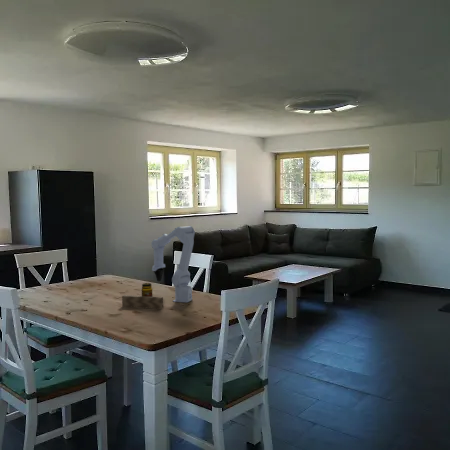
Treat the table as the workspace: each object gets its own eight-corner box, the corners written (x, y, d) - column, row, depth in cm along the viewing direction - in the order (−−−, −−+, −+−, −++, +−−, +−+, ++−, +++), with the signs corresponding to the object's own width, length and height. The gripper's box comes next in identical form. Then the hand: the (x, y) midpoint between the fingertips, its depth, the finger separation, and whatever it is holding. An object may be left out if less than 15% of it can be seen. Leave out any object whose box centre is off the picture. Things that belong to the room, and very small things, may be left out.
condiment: (150, 306, 247) (150, 285, 246) (136, 305, 249) (135, 284, 248) (155, 303, 254) (154, 282, 254) (141, 302, 256) (140, 282, 255)
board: (163, 308, 243) (163, 297, 242) (161, 309, 240) (161, 298, 240) (124, 305, 250) (124, 294, 249) (122, 306, 248) (122, 295, 247)
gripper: (157, 256, 279) (158, 278, 280) (147, 260, 265) (147, 282, 266) (168, 257, 277) (168, 278, 278) (157, 260, 263) (158, 283, 264)
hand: (159, 280), depth 272 cm, fingers closed
